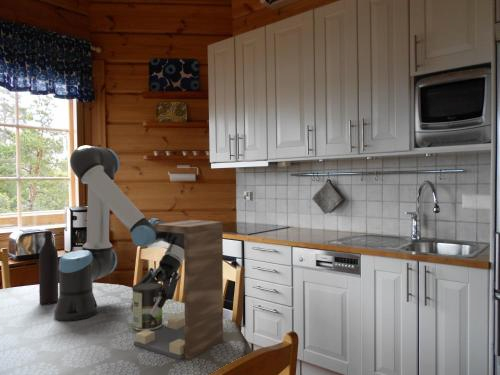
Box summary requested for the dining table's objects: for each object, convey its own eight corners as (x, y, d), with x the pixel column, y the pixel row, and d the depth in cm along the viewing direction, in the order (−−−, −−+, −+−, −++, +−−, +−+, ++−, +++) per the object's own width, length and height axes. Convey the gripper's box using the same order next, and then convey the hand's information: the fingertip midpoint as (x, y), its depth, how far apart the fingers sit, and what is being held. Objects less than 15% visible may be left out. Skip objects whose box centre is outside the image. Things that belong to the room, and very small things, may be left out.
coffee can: (167, 321, 143) (167, 282, 143) (155, 332, 133) (154, 290, 133) (141, 319, 145) (140, 281, 145) (127, 329, 135) (126, 289, 135)
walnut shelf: (157, 349, 120) (156, 224, 119) (191, 332, 133) (191, 219, 133) (190, 359, 113) (189, 227, 112) (222, 340, 126) (222, 221, 126)
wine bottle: (61, 301, 167) (61, 230, 166) (45, 305, 161) (45, 232, 160) (52, 298, 171) (51, 229, 170) (36, 303, 165) (35, 231, 164)
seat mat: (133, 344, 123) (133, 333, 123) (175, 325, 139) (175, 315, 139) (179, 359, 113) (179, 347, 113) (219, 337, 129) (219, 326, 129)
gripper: (200, 268, 146) (171, 324, 133) (156, 262, 158) (125, 312, 145) (190, 256, 141) (159, 313, 128) (146, 250, 153) (113, 301, 140)
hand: (141, 312), depth 137 cm, fingers closed on coffee can, 10 cm apart
